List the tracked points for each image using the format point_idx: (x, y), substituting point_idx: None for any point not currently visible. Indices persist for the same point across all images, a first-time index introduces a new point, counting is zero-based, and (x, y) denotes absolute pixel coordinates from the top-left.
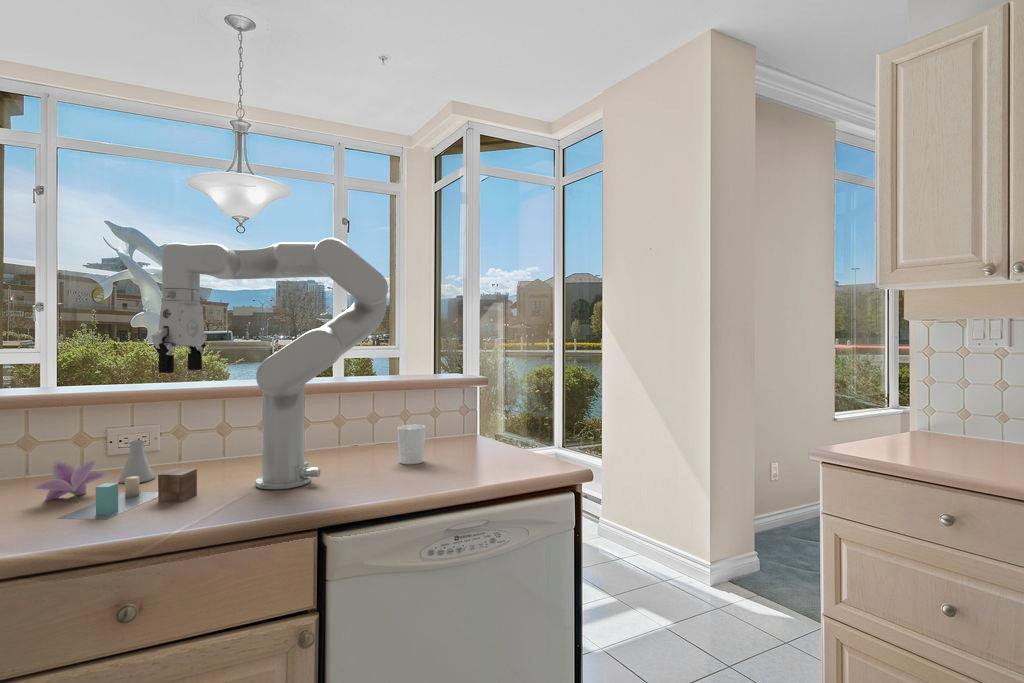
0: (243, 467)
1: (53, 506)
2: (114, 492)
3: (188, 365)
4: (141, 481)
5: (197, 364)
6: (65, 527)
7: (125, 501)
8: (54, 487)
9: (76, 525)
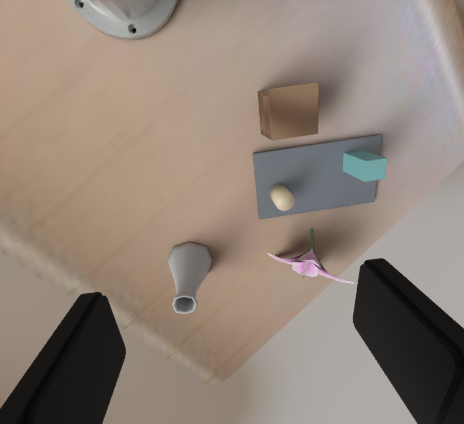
0: (53, 158)
1: None
2: (366, 157)
3: (118, 372)
4: (200, 245)
5: (93, 332)
6: (389, 173)
7: (304, 178)
8: (320, 270)
9: None
